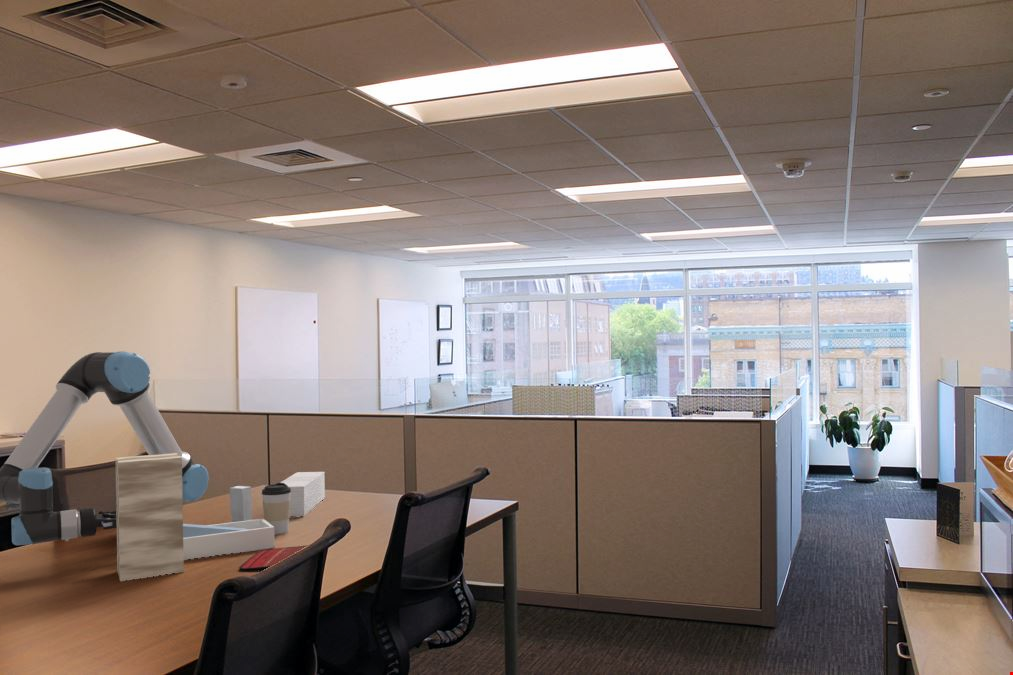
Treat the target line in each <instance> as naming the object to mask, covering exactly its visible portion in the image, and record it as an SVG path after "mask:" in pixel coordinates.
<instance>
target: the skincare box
mask: <svg viewBox="0 0 1013 675" xmlns="http://www.w3.org/2000/svg"><path fill="white" fill-rule="evenodd" d="M252 499H253V498H252V486H245V485H237V486H232V487H229V505H230V507H229V508H230V523H231V522H239V521H247V520H254V518H253V501H252Z"/></svg>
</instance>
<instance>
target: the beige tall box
mask: <svg viewBox="0 0 1013 675" xmlns="http://www.w3.org/2000/svg"><path fill="white" fill-rule="evenodd" d="M115 500H116V501H115V503H116V504H115V505H116V506H115V509H116V520H117V528H116V566H117V568H116V570H117V575H118V578H119V581H120V582H125V581H126V580H127V581H133V579H134V580H139V579H140V578H141V579H148V578H154V577H159V575H161V576H166V575H165V574H168V575H173V574H172V573H175V574H179V573H180V572H181V573H184V572H185V570H184V569H185V567H184V566H185V565H184V561H185V560H184V557H183V524H184V515H183V514H184V512H183V508H184V506H183V503H184V502H183V498H182V457H181V456H179V455H178V454H177V453H170V454H157V455H149V454H148V455H146V454H145V455H135V456H121V457H115ZM181 573H180V574H181ZM153 576H154V577H153ZM147 577H148V578H147ZM141 579H140V580H141Z"/></svg>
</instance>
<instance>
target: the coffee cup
mask: <svg viewBox="0 0 1013 675" xmlns="http://www.w3.org/2000/svg"><path fill="white" fill-rule="evenodd" d="M290 492H291V488H289V487H288V486H287V485H286V484H284V483H280V482H277V483H275V484H267V485H265V487H264V488H263V489H262V490H261V496H262V511H263V512H262V513H263V519H265V520H266V521H267V522H268V523H270V524H271V525H272V526H274V535H283V534H285V533H288V532H289V525H290V518H291V517H290V502H291V499H290Z"/></svg>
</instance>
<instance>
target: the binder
mask: <svg viewBox="0 0 1013 675" xmlns="http://www.w3.org/2000/svg"><path fill="white" fill-rule="evenodd" d="M308 545H309V544H308ZM308 545H307V544H306V545H299V546H289V547H277V548H269V549H262V550H259V551H258V552H256V553H255V554H253V555H252V556H250V557H249V558H248V559H247V560H245V562H243V563H242V564H241V565H240V566H239V567H238V568H239V572H262V571H261V570H264V569H266V568H268V567H270V566H272V565H274V564H276V563H278V562H279V561H281V560H283V559H285V558H287V557H288V556H290V555H292V554H294V553H295V552H297V551H299V550H301V549H302V548H304V547H306V546H308ZM258 570H259V571H258Z"/></svg>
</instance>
